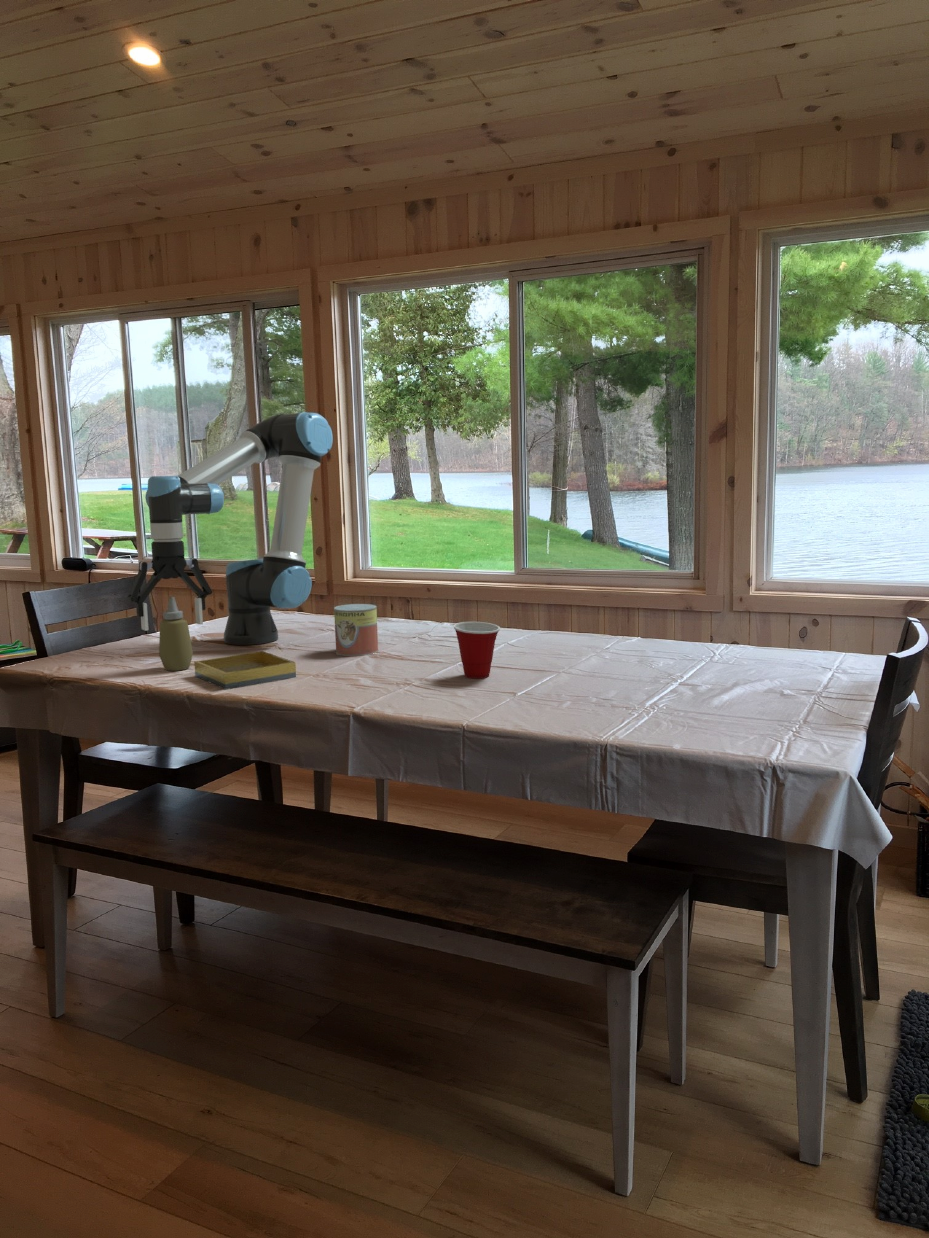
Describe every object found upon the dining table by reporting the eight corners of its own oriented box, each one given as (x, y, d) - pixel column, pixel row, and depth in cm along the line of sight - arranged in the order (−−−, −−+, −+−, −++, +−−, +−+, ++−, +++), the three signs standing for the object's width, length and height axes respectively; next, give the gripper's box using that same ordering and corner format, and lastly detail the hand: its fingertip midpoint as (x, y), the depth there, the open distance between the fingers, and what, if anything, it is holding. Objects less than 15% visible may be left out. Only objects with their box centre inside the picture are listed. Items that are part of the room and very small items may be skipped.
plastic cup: (485, 683, 208) (484, 630, 206) (445, 678, 214) (444, 626, 212) (509, 673, 217) (508, 622, 215) (470, 668, 223) (469, 619, 221)
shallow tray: (263, 665, 232) (262, 651, 232) (296, 677, 219) (295, 662, 218) (195, 676, 222) (194, 661, 221) (225, 689, 208) (224, 673, 207)
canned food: (327, 654, 244) (325, 609, 242) (348, 646, 254) (346, 603, 252) (366, 657, 239) (364, 611, 237) (385, 648, 250) (384, 604, 248)
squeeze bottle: (184, 672, 226) (178, 599, 223) (153, 672, 227) (147, 599, 224) (200, 665, 234) (194, 594, 231) (170, 664, 235) (165, 594, 232)
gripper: (210, 536, 236) (215, 619, 239) (109, 542, 221) (116, 630, 224) (222, 538, 230) (227, 623, 233) (120, 544, 215) (126, 634, 218)
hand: (172, 626), depth 228 cm, fingers open, 13 cm apart
